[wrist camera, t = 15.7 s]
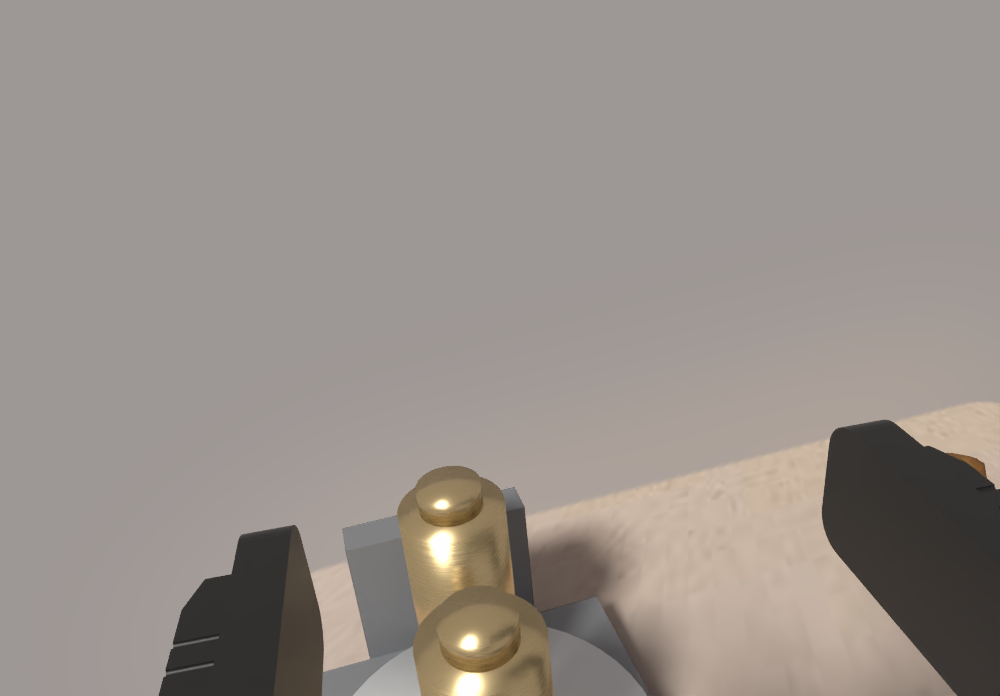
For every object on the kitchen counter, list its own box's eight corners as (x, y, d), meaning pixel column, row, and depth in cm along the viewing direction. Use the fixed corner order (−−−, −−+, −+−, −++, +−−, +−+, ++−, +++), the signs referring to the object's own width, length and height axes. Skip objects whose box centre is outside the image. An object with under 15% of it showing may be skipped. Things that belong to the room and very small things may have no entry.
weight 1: (484, 636, 44) (457, 442, 39) (544, 688, 41) (525, 482, 35) (412, 688, 42) (372, 487, 36) (470, 748, 38) (436, 536, 32)
